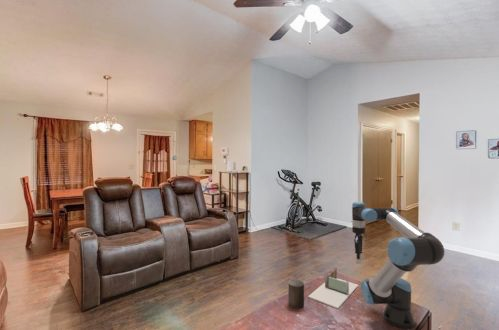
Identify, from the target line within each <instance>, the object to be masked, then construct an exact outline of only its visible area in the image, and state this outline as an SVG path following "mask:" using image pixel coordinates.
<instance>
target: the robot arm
mask: <svg viewBox="0 0 499 330" xmlns="http://www.w3.org/2000/svg"><path fill="white" fill-rule="evenodd" d="M351 206H352V207H351V210H352V211H351V214H352V216H351V219H352V220H351V223H352V225H351V226H352V227H351V228H352V229H351V231H352V233H353V234H355V235H354V239H353V241H354V254H355V257H356V258H355V260H356V261H355V263H356V264H357V265H362V254H364V253H363V240H364V234H365V233H366V222H368V223H373V222H375V221H385V222H386V223H387V224H389V225H390V226H391V227H393V228H394V229H395V230H396V231H398V232H399V233H400V234H401V235H403V236H404V237H403V236H402V237H395V238H393V239H391V240H390V241H389V242H388V244H387V249H386V250H387V251H386V254H387V256H388V260H387V261H386V263H384V265H383V266H382V267H381V269H380V270H379V271H378V273H376V275H373V276H370V277H369V278H370V279H369V281H364V280H362V281H361V282H360V292H361V296H362V299H363V301H364V302H365V303H366V304H367V305H368V304H369V305H379V304H380V305H383V304H384V305H385V308H384V310H383V317H382V318H383V319H384V320H385V322H387V323H388V324H389V325H391V326H392V327H396V328H399V329H405V330H407V329H408V330H410V329H412V328H414V327H415V318H414V315H413V312H412V285H411V283H410V281H409V282H408V281H407V280H406V279H404V278H402V277H403V276H404V275H405V274H406V273H409V272H412V271H413V270H415V269H416V268H417V266H420V265H421V266H424V265H425V266H426V265H427V266H428V265H435V264H438V263H440V262H441V261H442V260H443V259H444V256H445V248H444V245H443V244H442V242H441V241H440V239H439V238H437V237H436V236H435V235H433V234H432V233H430V232H425V231H424V230H422V229H420V228H419V227H418V226H416V225H414V223H412V222H410V221H409V220H408V219H406V218H405V217H403V216H401V215H400V212H399V210H398V209H397V208H396V207H366V203H364V202H362V201H355V202H352V205H351Z"/></svg>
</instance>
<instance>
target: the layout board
mask: <svg viewBox="0 0 499 330" xmlns="http://www.w3.org/2000/svg"><path fill="white" fill-rule="evenodd" d="M337 279H338V280H341V281H345V282H346V281H347V280H344V279H341V278H337ZM348 282H349V294H346V293H344V292H341V291H338V290H335V289H332V288H329V286H328V288H326V287H325V282H323V283H322V284H321V285H320V286H318V287H317V288H316V289H315V290H314V291H313V292H312V293H310V294H309V295H308V296H307V298H309V300H313V301H316V302H318V303H321V304H324V305H326V306H329V307H331V308H334V309H335V310H339V309H340V308H341V306H342V305H343V304H344V303H345V302H346V301H347V300H348V299H349V298H350V297H351V296H352V294H353V293H354V292H355V290H356V289H357V288H358V287H359V284H356V283H354V282H350V281H348Z"/></svg>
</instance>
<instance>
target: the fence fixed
mask: <svg viewBox="0 0 499 330" xmlns="http://www.w3.org/2000/svg"><path fill="white" fill-rule="evenodd" d="M337 270H338V269H337V267H334V268H333V270H332V271H330V272H329V273H328V274H325V275H324V278H325V279H324V280H325V281H324V283H325V287H326V288H328V286H329V277H331V278H335V279H337V277H338V276H337V275H338V273H337V272H338V271H337Z"/></svg>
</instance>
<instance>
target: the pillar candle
mask: <svg viewBox="0 0 499 330" xmlns="http://www.w3.org/2000/svg"><path fill="white" fill-rule="evenodd" d="M287 283H288V306H289V307H290V308H293V309H302V308H303V307H305V283H304V281H303V280H300V279H294V278H293V279H290V280H288V282H287Z"/></svg>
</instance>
